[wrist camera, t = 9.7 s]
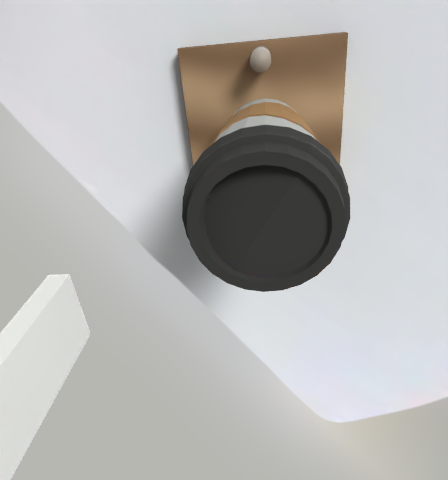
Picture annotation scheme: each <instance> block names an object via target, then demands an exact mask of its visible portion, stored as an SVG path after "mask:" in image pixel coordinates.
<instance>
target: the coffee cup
mask: <svg viewBox="0 0 448 480" xmlns="http://www.w3.org/2000/svg"><path fill="white" fill-rule="evenodd" d="M182 218H183V222H184V226H185V230H186V234H187V237H188V239H189V240H190V244H191V247H192V248H193V250H194V252H195V253H196V255H197V257H198V259H199V260H200V262H201V263H202V264H203V265H204V266H205V267H206V268H207V269H208V270H209V271H210V272H211V273H212V274H214V275H215V276H217V277H219V278H220V279H222V280H223V281H225V282H227V283H229V284H232V285H234V286H237V287H240V288H243V289H247V290H255V291H263V292H265V291H277V290H284V289H288V288H291V287H294V286H298V285H301V284H303V283H304V282H306V281H308V280H310V279H311V278H313V277H315V276H317V275H318V274H319V273H320V272H321V271H322V270H323V269H324V268H325V267H326V266H327V265H329V264H330V263H331V261H332V259H333V258H334V256H335V255H336V253H337V251H338V250H339V248H340V246H341V243H342V241H343V239H344V237H345V234H346V231H347V227H348V224H349V220H350V196H349V193H348V186H347V183H346V180H345V177H344V174H343V171H342V168H341V166H340V165H339V163H338V162H337V161H336V159H335V158H334V156H333V155H332V153H331V152H330V151H329V150H328V149H327V148H326V147H325V146H323V145H322V144H321V143H320V141H319V140H318V139H317V137H316V136H315V134H314V133H313V132H312V130H311V129H310V128H309V126H308V125H307V124H306V122H305V121H304V120H303V118H302V117H301V116H300V115H299V114H298V113H297V112H296V111H295V110H294V109H293V108H291V107H290V106H289V105H287V104H286V103H283V102H281V101H278V100H275V99H266V98H264V99H258V100H253V101H251V102H249V103H247V104H245V105H243V106H242V107H241V108H240V109H238V110H237V111H236V112H235V113H234V115H233V116H232V117H231V118H230V119H229V120H228V121H227V123H226V124H225V126H224V127H223V128H222V130H221V131H220V133H219V134H218V136H217V137H216V138H215V140H214V141H213V143H212V144H211V146H209V147H208V148H207V149H206V150H205V151H203V153H202V154H201V155H200V157H199V158H198V160H197V161H196V163H195V164H194V166H193V167H192V168H191V171H190V174H189V177H188V180H187V183H186V186H185V193H184V196H183V212H182Z"/></svg>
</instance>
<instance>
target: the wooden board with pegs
mask: <svg viewBox="0 0 448 480" xmlns="http://www.w3.org/2000/svg"><path fill="white" fill-rule="evenodd" d="M347 39H348V33H347V32H341V33H331V34H320V35H310V36H300V37H289V38H279V39H268V40H258V41H247V42H237V43H226V44H216V45H206V46H195V47H185V48H179V49H178V56H179V64H180V71H181V78H182V86H183V93H184V101H185V108H186V116H187V123H188V131H189V138H190V146H191V153H192V160H193V166H194V164H195V163H196V161H197V160H198V158H199V157H200V155H201V154H202V153H203V151H205V150H206V149H207V148H208V147H209V146H211V144H212V143H213V141H214V140H215V138H216V137H217V136H218V134H219V133H220V131H221V130H222V128H223V127H224V126H225V124H226V123H227V121H228V120H229V119H230V118H231V117H232V116H233V115H234V113H235V112H236V111H237V110H238V109H240V108H241V107H242V106H243V105H245V104H247V103H249V102H251V101H253V100H258V99H264V98H266V99H275V100H278V101H281V102H283V103H286V104H287V105H289V106H290V107H291V108H293V109H294V110H295V111H296V112H297V113H298V114H299V115H300V116H301V117H302V118H303V120H304V121H305V122H306V124H307V125H308V126H309V128H310V129H311V130H312V132H313V133H314V134H315V136H316V137H317V139H318V140H319V141H320V143H321V144H322V145H323V146H325V147H326V148H327V149H328V150H329V151H330V152H331V153H332V155H333V156H334V158H335V159H336V161H337V162H338V163H339V165H340V151H341V135H342V119H343V103H344V87H345V71H346V55H347Z"/></svg>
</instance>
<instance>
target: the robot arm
mask: <svg viewBox="0 0 448 480" xmlns="http://www.w3.org/2000/svg"><path fill="white" fill-rule="evenodd" d="M90 334H91V333H90V330H89V328H88V325H87V322H86V319H85V316H84V313H83V311H82V308H81V305H80V302H79V299H78V297H77V294H76V291H75V289H74V285H73V283H72V280H71V277H70V275H69V274H64V275H48V276H47V278H46V279H45V280H44V281H43V282H42V284H41V285H40V286H39V287H38V289H37V290H36V291H35V292H34V293H33V294H32V296H31V297H30V298H29V299H28V301H27V302H26V303H25V304H24V305H23V306H22V308H21V309H20V310H19V311H18V312H17V314H16V315H15V316H14V317H13V319H12V320H11V321H10V322H9V323H8V325H7V326H6V327H5V328H4V329H3V331H2V332H1V333H0V480H11V478H12V477H13V475H14V473H15V471H16V469H17V467H18V466H19V464H20V462H21V460H22V458H23V456H24V455H25V453H26V451H27V449H28V447H29V445H30V443H31V442H32V440H33V438H34V436H35V435H36V433H37V431H38V429H39V427H40V425H41V424H42V422H43V420H44V418H45V416H46V414H47V412H48V410H49V409H50V407H51V405H52V403H53V402H54V400H55V398H56V396H57V394H58V392H59V391H60V389H61V387H62V385H63V383H64V381H65V379H66V378H67V376H68V374H69V372H70V370H71V369H72V367H73V365H74V363H75V361H76V360H77V358H78V356H79V354H80V352H81V350H82V348H83V347H84V345H85V343H86V341H87V339H88V338H89V336H90Z"/></svg>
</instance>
